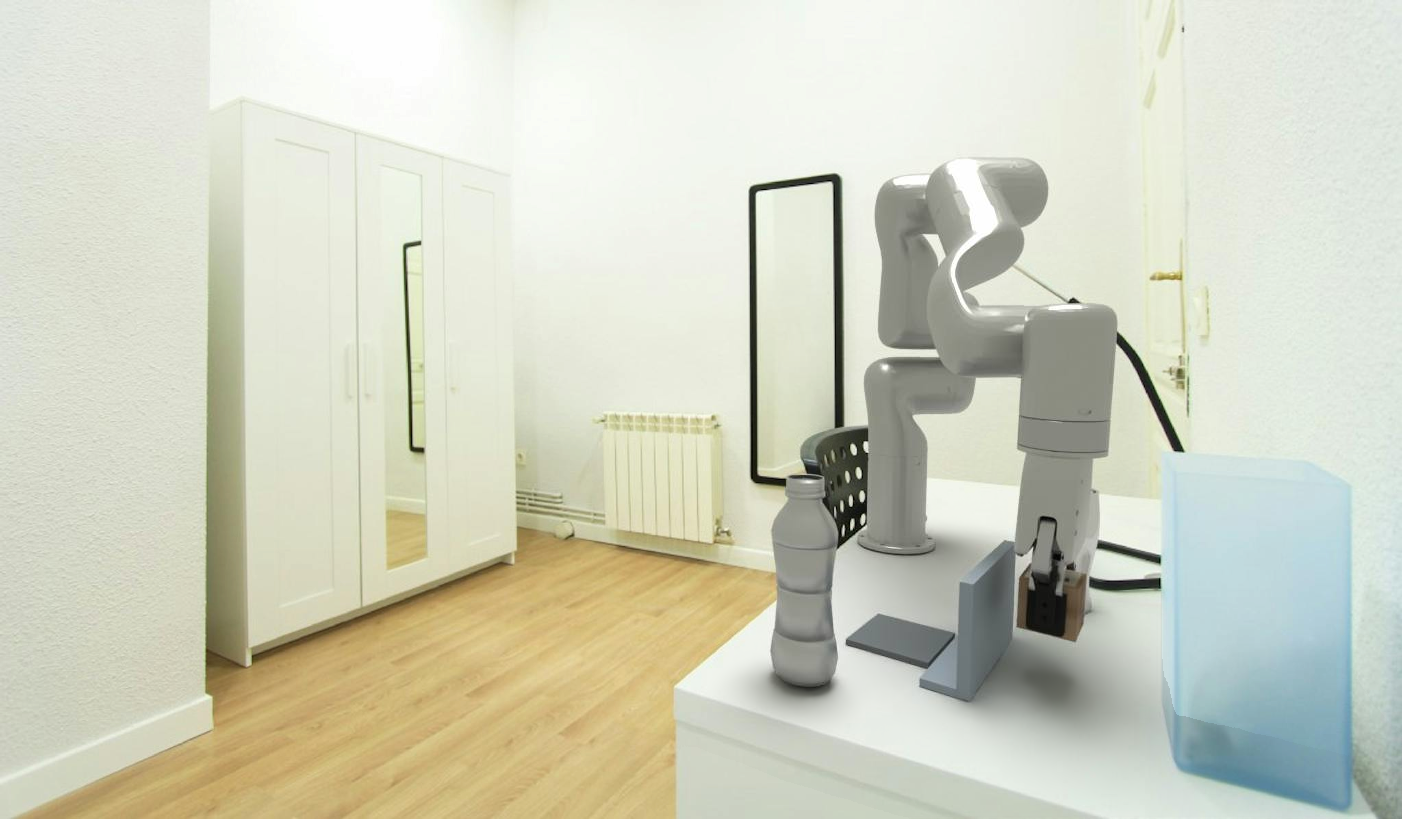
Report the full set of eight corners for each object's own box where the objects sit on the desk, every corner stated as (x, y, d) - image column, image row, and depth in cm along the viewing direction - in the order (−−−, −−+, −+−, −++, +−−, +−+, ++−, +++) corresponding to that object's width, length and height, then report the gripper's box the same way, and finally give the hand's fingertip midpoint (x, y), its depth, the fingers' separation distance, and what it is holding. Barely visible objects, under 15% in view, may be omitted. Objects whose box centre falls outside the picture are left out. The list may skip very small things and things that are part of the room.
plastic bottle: (797, 702, 58) (799, 486, 56) (757, 670, 64) (758, 474, 62) (852, 686, 61) (855, 480, 59) (808, 656, 67) (811, 469, 65)
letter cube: (1027, 609, 65) (1030, 560, 65) (1083, 623, 62) (1087, 570, 62) (1016, 627, 62) (1019, 574, 61) (1075, 642, 58) (1079, 586, 58)
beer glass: (1105, 617, 77) (1111, 495, 76) (1042, 613, 78) (1047, 493, 77) (1083, 596, 84) (1088, 484, 83) (1025, 593, 85) (1030, 482, 84)
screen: (969, 627, 74) (972, 534, 73) (1012, 637, 71) (1016, 541, 71) (919, 685, 61) (922, 573, 60) (969, 701, 58) (973, 584, 57)
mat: (878, 618, 77) (878, 613, 77) (954, 637, 71) (955, 632, 71) (845, 644, 70) (845, 638, 70) (928, 668, 64) (928, 662, 64)
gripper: (1036, 423, 69) (1026, 585, 71) (996, 444, 56) (986, 642, 58) (1118, 429, 64) (1106, 602, 66) (1097, 453, 51) (1082, 669, 53)
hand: (1050, 619), depth 62 cm, fingers closed on letter cube, 5 cm apart
